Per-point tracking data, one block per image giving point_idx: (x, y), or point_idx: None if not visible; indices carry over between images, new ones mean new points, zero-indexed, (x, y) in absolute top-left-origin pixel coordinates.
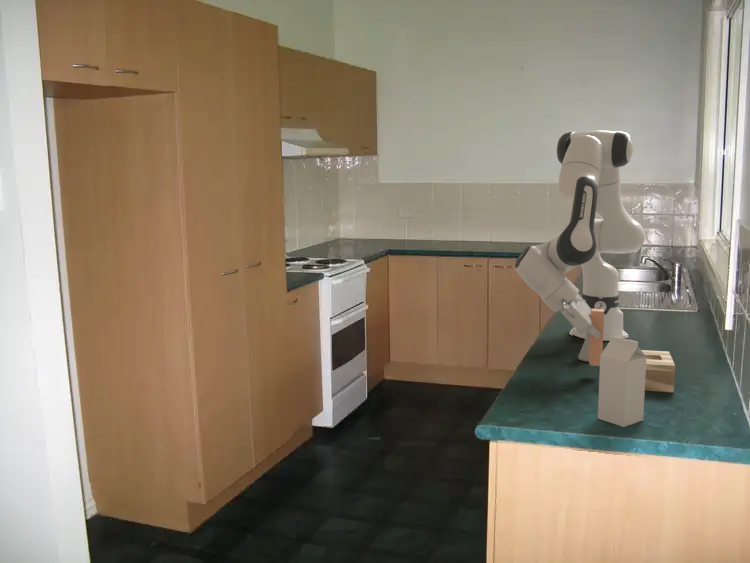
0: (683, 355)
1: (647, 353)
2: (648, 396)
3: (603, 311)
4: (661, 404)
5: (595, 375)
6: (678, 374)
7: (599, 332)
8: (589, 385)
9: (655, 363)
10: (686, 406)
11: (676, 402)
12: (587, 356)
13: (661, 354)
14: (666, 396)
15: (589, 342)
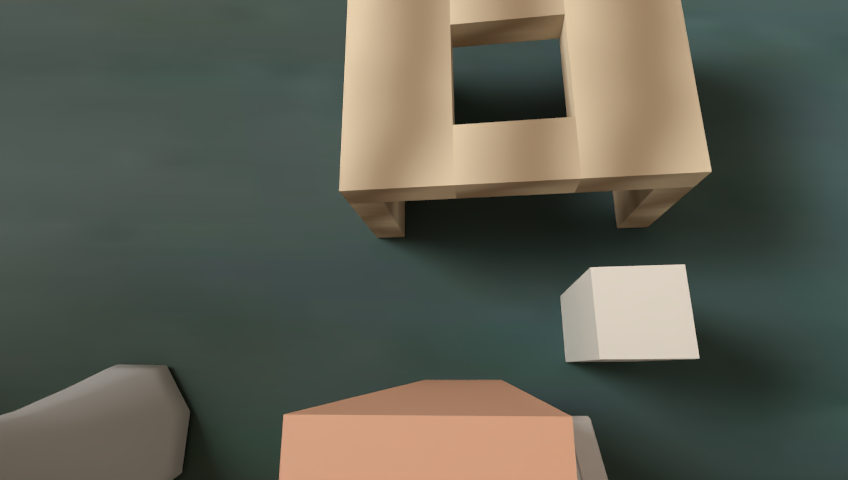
0: (45, 17)
1: (420, 90)
2: (734, 156)
3: (559, 430)
4: (841, 106)
5: None
6: (335, 37)
7: (596, 441)
8: (652, 449)
9: (664, 46)
10: (818, 15)
11: (776, 49)
12: (156, 457)
13: (426, 19)
14: (699, 85)
15: (64, 463)
